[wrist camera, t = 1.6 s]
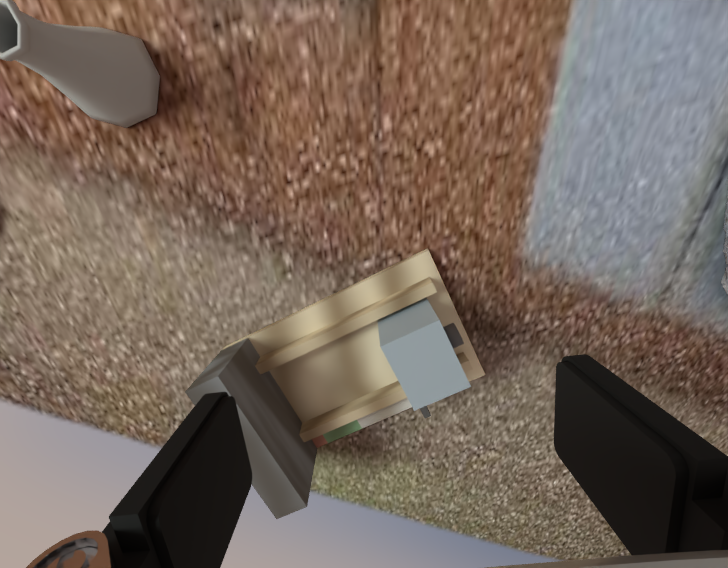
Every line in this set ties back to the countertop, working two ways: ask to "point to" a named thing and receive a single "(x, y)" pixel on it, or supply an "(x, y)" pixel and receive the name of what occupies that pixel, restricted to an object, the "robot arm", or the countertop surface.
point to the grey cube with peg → (422, 354)
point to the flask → (85, 65)
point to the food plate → (726, 247)
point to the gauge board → (322, 376)
